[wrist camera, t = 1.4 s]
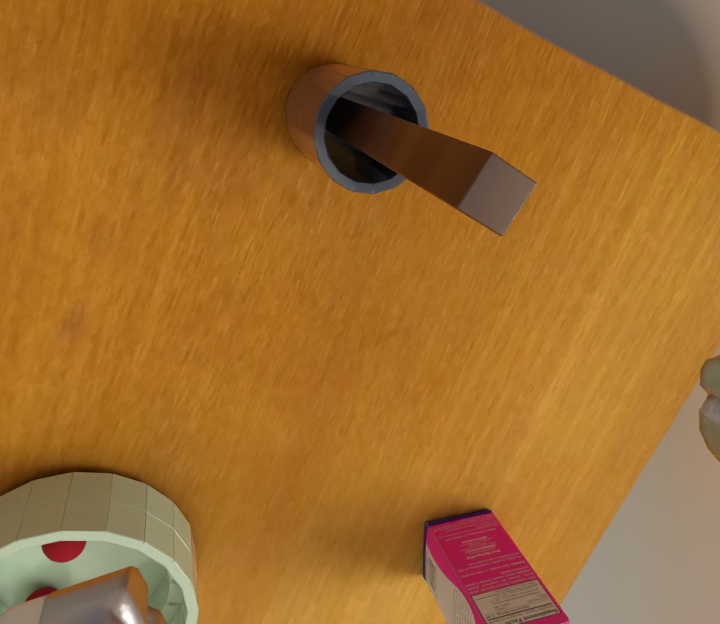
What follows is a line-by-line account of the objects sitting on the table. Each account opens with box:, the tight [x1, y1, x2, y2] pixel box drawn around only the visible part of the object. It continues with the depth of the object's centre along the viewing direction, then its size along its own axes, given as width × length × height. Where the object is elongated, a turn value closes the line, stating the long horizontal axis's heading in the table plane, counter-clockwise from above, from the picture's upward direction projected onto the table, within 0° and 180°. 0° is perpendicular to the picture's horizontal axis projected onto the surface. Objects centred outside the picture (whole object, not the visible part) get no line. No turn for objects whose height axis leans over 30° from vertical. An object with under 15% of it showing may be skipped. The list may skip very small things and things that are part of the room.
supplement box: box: [423, 510, 570, 624], centre depth 47 cm, size 6×6×12 cm
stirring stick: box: [326, 97, 537, 236], centre depth 27 cm, size 2×2×20 cm
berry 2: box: [41, 541, 87, 563], centre depth 40 cm, size 3×3×3 cm
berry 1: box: [25, 587, 57, 602], centre depth 42 cm, size 3×3×3 cm
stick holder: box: [285, 63, 429, 194], centre depth 33 cm, size 5×5×8 cm
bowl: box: [0, 472, 199, 624], centre depth 40 cm, size 14×14×6 cm
